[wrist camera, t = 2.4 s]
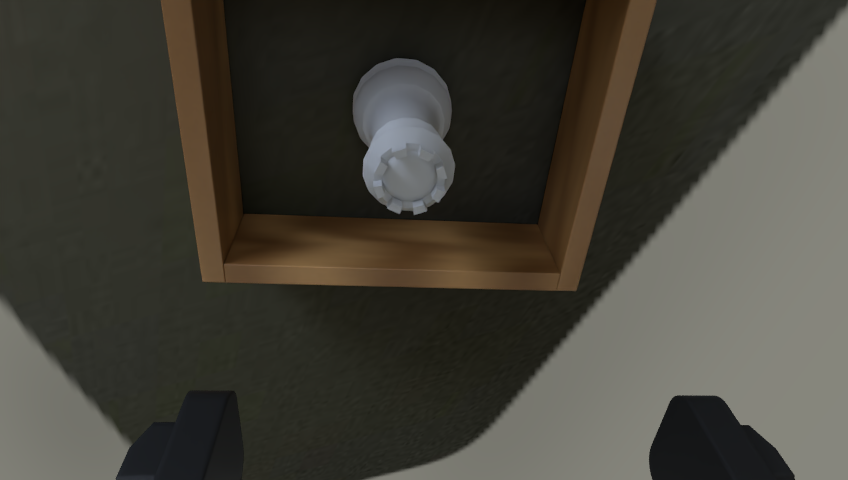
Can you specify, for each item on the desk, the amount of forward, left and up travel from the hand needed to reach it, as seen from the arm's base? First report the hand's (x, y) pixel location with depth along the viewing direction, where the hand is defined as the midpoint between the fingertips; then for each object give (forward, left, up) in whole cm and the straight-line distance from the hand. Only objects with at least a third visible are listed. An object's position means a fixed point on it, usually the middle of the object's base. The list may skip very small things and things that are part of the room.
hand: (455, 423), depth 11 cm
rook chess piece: (0, 0, -19) cm, 19 cm away
